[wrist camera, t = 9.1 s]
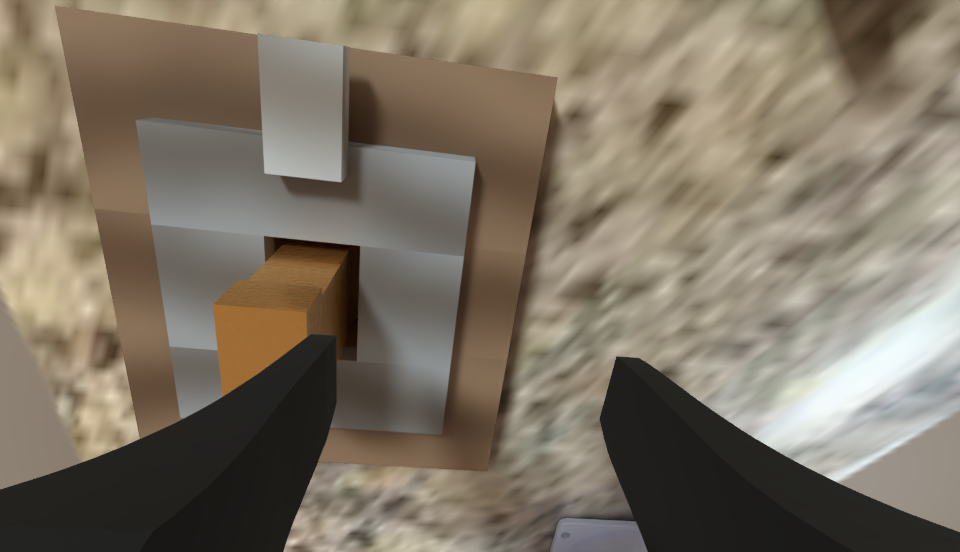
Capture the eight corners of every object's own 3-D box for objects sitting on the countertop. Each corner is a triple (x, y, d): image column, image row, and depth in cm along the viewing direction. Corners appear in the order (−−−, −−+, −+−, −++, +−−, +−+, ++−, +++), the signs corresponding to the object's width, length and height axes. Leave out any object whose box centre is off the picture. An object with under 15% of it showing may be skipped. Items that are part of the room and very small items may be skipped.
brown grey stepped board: (484, 441, 25) (489, 505, 21) (166, 421, 23) (113, 486, 20) (547, 76, 18) (570, 78, 14) (99, 13, 16) (-3, -4, 13)
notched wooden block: (357, 319, 22) (308, 444, 14) (304, 314, 22) (226, 440, 14) (360, 223, 20) (306, 312, 13) (302, 217, 20) (212, 304, 12)
